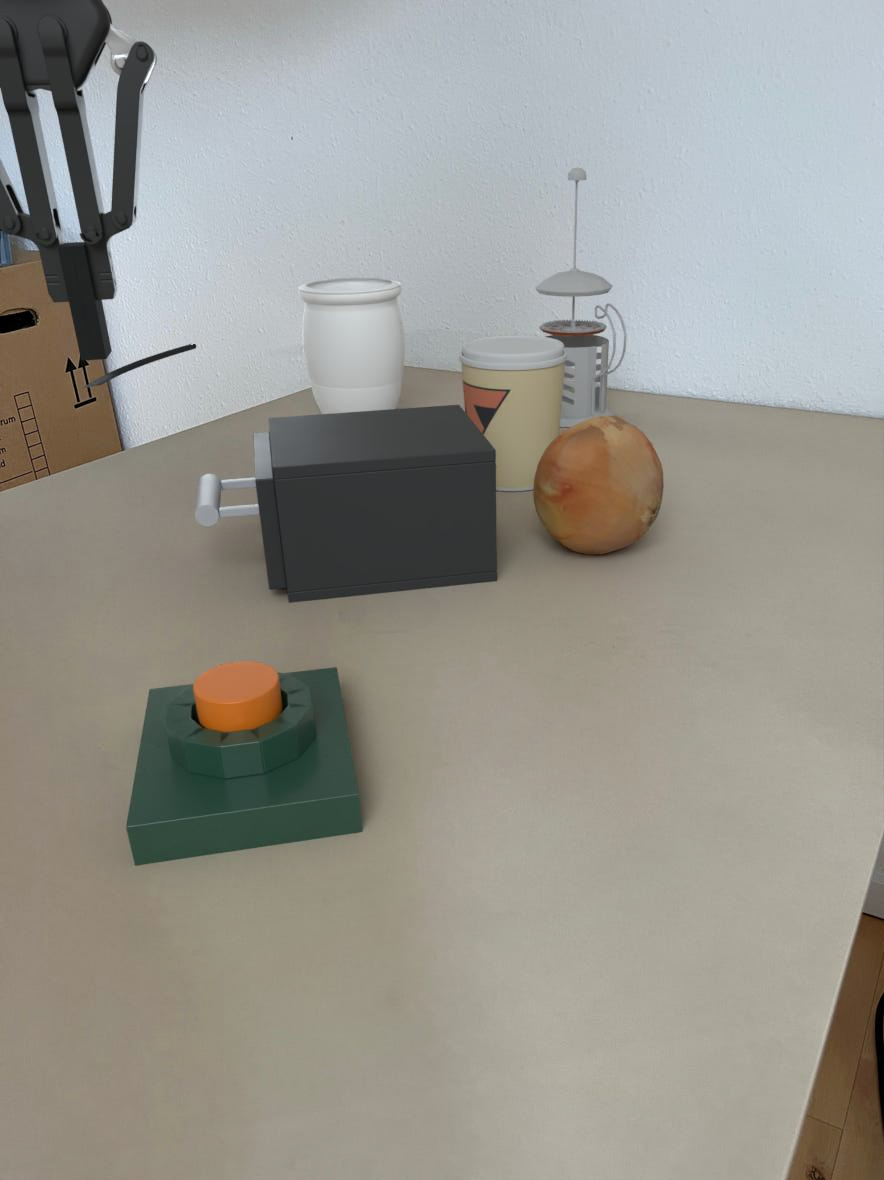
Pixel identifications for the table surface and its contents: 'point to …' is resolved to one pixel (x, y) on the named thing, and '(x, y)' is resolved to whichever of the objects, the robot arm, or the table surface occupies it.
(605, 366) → the french press
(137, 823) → the green button housing
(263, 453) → the pull-out drawer
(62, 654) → the table surface
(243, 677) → the button
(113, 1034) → the table surface
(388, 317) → the jar
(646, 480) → the onion
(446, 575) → the drawer cabinet
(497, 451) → the coffee cup
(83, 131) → the robot arm
